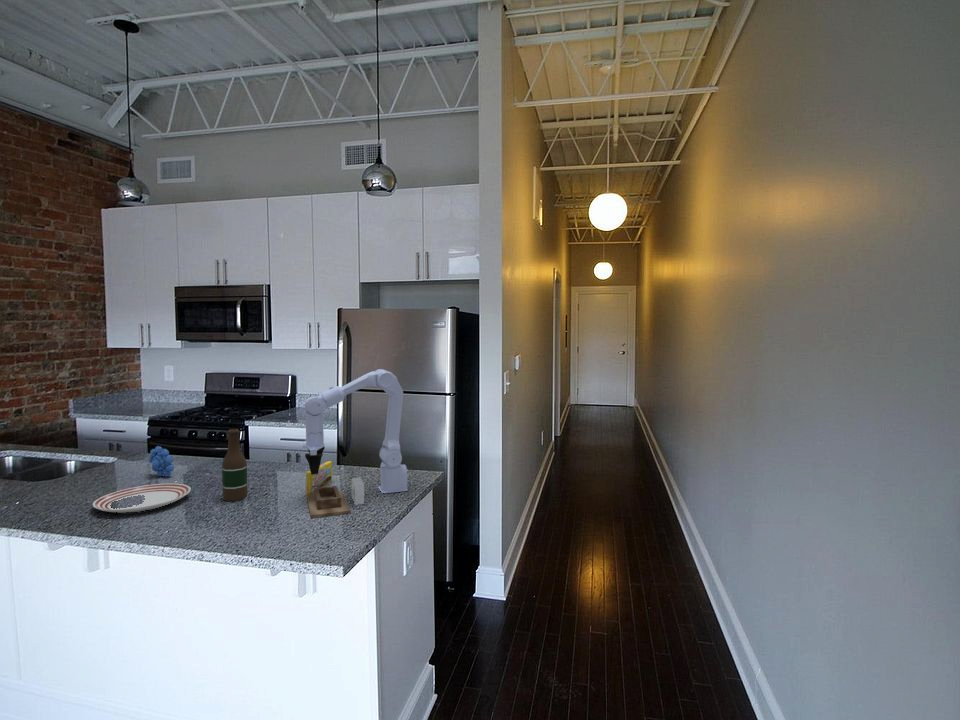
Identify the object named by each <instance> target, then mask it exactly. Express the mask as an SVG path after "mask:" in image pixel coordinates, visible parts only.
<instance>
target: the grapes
mask: <svg viewBox="0 0 960 720" xmlns="http://www.w3.org/2000/svg"><path fill="white" fill-rule="evenodd" d="M149 452H150V453H149V454H150V457H149V458H148V461H149V463H150V464H151V469H152V471H153V472H154V473H155V472H156V474H157V476H159V477H160V476H163V475H164V476H163V477H166V476H168V477H170V476H171V475H172V472H173V471H174V470H175V466H174V464H172V463H173V462H174V457H173V456H171V455H169V454H170V451H169V450H168V449H167V448H163V447H161V446H159V445H157V446H155V448H152V449H151V450H150V451H149Z"/></svg>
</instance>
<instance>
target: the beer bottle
mask: <svg viewBox="0 0 960 720" xmlns="http://www.w3.org/2000/svg"><path fill="white" fill-rule="evenodd" d="M227 434H228V438H227V440H228V441H227V452H226V454H225V456H224V457H223V460H222V462H221V463H222V464H221V477H222V479H221V480H222V481H221V482H222V499H223V500H224V499H225V500H226V501H225V500H224V501H225V502H238V500H239V501H242V500H245V499H246V498H247V497H248V465H247V459H246V457H245V455H244V454H243V453H242V451H241V444H240V430H239V429H238V428H230V429H228V430H227Z"/></svg>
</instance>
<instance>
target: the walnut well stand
mask: <svg viewBox="0 0 960 720" xmlns="http://www.w3.org/2000/svg"><path fill="white" fill-rule="evenodd" d="M306 500H307V501H306V502H307V506H308V509H309V516H310V519H319V518H326V516H327V517H333V516H342V514H343V515H350V514H351V509H350V506H349V503H348V501H347V498H346V497H345V495H344V492H343V490H342V489H338V486H337V485H332V486H324V487H321V488H314V493H309V494H307V495H306ZM349 513H350V514H349ZM318 517H319V518H318Z"/></svg>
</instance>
